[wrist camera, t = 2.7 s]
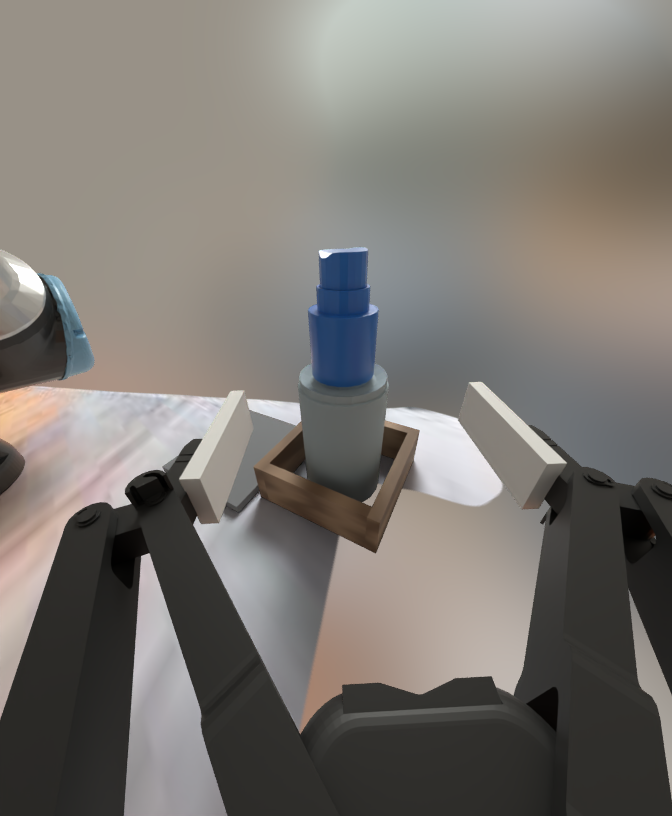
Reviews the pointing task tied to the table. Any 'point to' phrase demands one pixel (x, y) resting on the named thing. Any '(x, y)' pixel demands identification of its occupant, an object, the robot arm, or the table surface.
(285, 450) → the walnut collar
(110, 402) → the table surface
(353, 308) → the spray bottle
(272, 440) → the rubber mat
